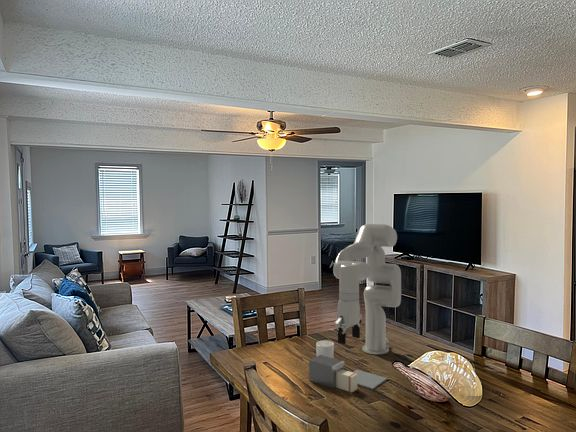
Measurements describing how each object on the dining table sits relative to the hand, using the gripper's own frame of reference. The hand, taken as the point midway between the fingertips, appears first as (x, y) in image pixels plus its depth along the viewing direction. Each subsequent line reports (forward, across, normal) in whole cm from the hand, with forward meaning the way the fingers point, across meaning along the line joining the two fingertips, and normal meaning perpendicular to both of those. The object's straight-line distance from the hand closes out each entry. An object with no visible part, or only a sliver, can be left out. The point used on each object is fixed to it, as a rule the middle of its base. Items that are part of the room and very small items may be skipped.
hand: (348, 340), depth 168 cm
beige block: (+19, 0, -4) cm, 20 cm away
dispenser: (+19, 0, -11) cm, 22 cm away
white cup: (+19, -13, -21) cm, 31 cm away
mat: (+19, -12, 0) cm, 22 cm away
